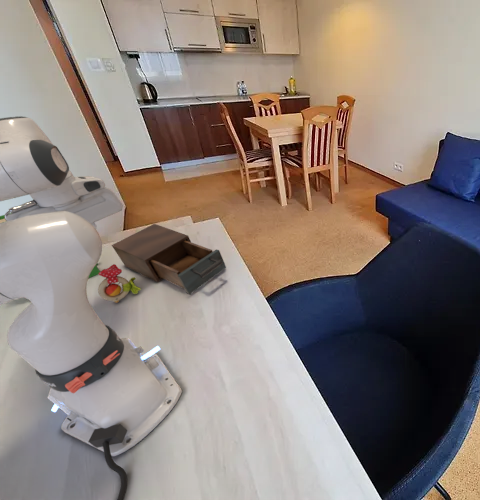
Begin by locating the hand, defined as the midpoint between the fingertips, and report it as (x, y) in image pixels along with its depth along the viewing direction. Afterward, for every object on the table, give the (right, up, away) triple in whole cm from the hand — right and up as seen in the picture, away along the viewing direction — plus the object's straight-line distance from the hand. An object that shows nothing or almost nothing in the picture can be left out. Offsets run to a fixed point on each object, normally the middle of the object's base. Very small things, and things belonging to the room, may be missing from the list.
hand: (91, 241), depth 78 cm
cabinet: (+3, -6, +25) cm, 26 cm away
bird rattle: (+1, -16, +11) cm, 20 cm away
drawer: (+19, -10, +16) cm, 26 cm away
